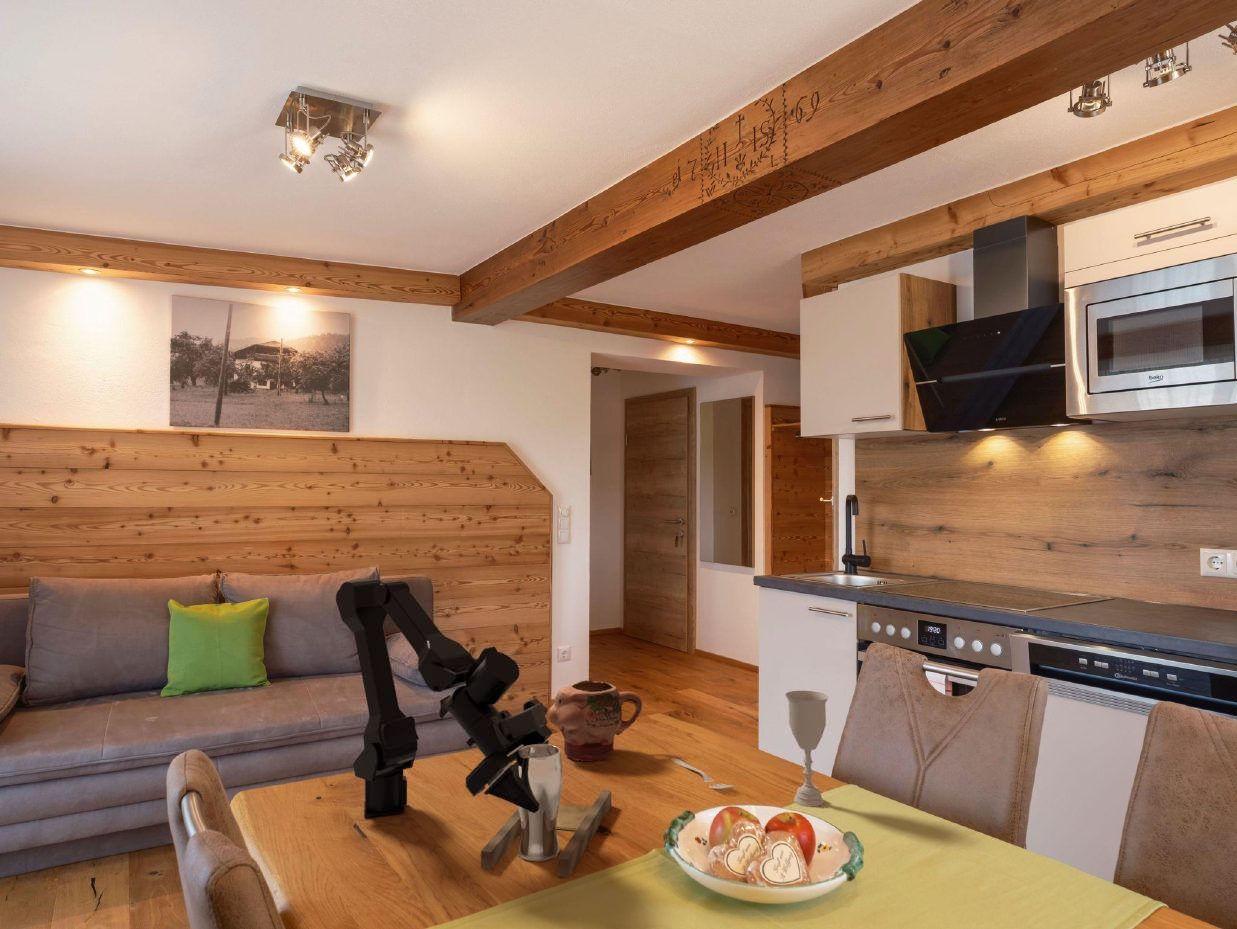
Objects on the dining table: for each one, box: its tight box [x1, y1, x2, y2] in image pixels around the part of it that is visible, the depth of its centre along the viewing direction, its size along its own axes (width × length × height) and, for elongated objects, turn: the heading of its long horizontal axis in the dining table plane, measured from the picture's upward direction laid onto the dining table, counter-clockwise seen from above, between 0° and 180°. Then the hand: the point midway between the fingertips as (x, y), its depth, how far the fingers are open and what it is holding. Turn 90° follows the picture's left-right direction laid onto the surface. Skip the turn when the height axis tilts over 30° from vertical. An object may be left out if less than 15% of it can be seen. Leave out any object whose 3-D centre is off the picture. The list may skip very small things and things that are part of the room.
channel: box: [480, 789, 612, 878], centre depth 125 cm, size 26×13×2 cm, turn 167°
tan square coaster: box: [557, 803, 593, 832], centre depth 132 cm, size 9×10×1 cm
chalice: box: [785, 690, 829, 807], centre depth 138 cm, size 7×7×18 cm
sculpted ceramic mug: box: [547, 680, 643, 762], centre depth 164 cm, size 20×12×14 cm, turn 113°
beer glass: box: [515, 744, 563, 863], centre depth 119 cm, size 7×7×15 cm
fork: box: [671, 757, 737, 790], centre depth 152 cm, size 3×24×2 cm, turn 25°
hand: (547, 802), depth 119 cm, fingers closed on beer glass, 7 cm apart
